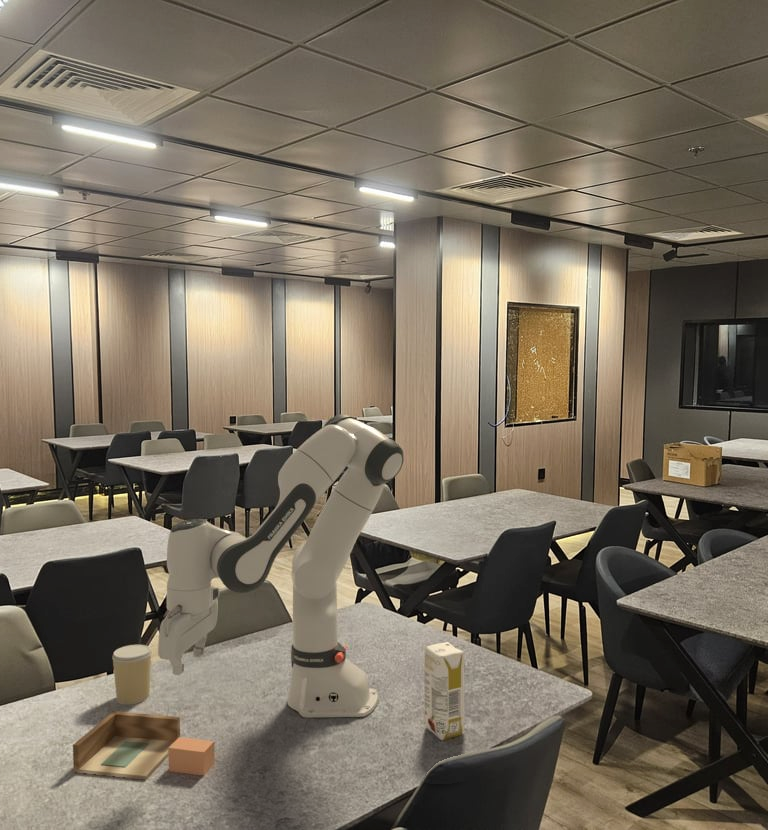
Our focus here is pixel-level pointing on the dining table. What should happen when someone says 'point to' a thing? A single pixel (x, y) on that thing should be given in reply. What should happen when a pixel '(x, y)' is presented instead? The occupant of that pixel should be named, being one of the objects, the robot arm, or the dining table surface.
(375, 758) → the dining table surface
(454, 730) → the juice carton
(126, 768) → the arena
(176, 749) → the brick
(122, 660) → the coffee cup
